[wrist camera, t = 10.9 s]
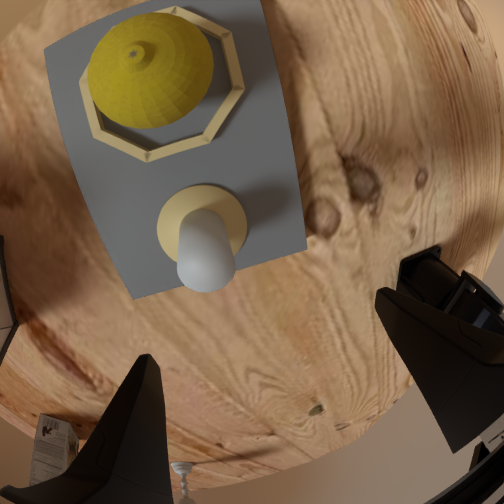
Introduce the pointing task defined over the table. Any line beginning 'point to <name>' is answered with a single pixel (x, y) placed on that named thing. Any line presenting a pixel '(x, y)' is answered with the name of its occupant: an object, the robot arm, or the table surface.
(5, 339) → the lantern
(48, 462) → the coffee box
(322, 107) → the table surface
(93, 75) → the lemon
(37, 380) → the table surface
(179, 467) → the chalice
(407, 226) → the table surface
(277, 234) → the board
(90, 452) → the robot arm
